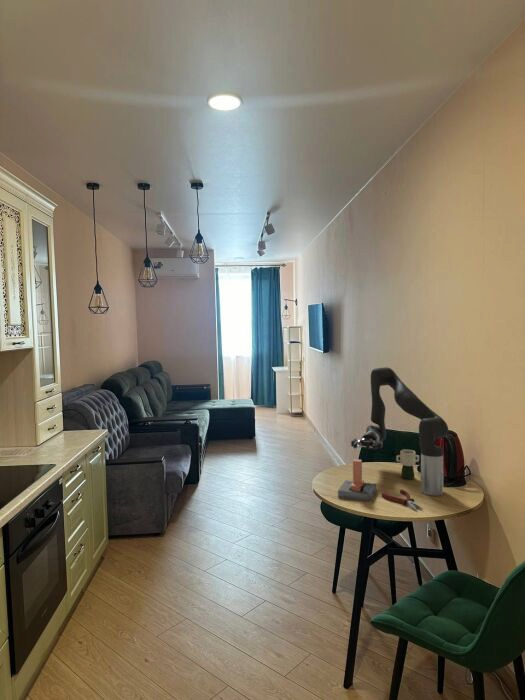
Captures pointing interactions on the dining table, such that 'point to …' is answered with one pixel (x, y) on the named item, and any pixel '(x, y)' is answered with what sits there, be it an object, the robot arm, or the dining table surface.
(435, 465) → the robot arm
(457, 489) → the dining table surface
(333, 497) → the dining table surface
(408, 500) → the pliers
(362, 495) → the grey socket board
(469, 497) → the dining table surface
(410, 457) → the character mug
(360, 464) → the pink tall block
